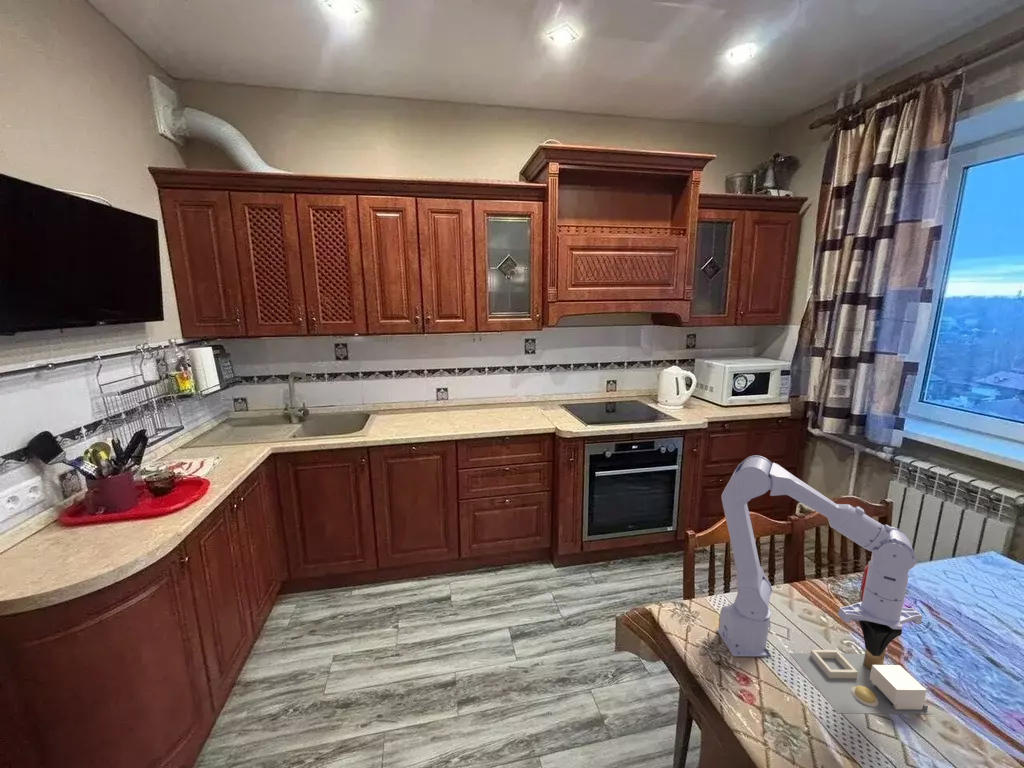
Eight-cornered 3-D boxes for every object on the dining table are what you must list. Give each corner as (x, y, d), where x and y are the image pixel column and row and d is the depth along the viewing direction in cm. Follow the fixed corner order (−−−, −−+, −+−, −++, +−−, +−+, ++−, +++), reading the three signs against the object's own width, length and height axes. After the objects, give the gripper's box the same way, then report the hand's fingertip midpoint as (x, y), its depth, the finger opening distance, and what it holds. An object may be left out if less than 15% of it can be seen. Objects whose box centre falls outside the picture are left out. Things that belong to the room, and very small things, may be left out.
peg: (871, 672, 88) (876, 648, 87) (859, 661, 91) (864, 637, 90) (885, 673, 88) (890, 648, 87) (873, 661, 91) (878, 637, 90)
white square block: (893, 709, 80) (897, 689, 79) (868, 683, 86) (872, 664, 85) (922, 709, 80) (926, 690, 79) (895, 683, 86) (899, 665, 85)
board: (836, 718, 80) (838, 706, 79) (788, 657, 93) (790, 647, 93) (931, 719, 80) (933, 707, 79) (869, 658, 93) (871, 647, 93)
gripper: (862, 604, 77) (851, 668, 80) (942, 606, 77) (928, 669, 79) (834, 580, 84) (824, 639, 87) (907, 581, 84) (895, 640, 86)
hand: (872, 651), depth 83 cm, fingers closed
